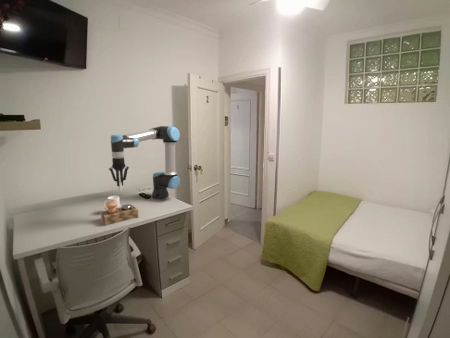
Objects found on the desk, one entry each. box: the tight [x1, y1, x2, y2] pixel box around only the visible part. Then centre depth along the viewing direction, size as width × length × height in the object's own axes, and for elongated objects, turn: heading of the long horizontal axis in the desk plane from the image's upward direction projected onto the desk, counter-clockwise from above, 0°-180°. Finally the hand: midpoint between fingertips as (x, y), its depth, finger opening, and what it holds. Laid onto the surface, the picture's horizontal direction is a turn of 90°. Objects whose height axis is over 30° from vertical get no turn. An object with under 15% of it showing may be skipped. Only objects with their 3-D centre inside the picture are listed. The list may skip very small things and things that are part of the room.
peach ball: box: [105, 202, 117, 214], centre depth 162 cm, size 6×6×8 cm
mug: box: [102, 195, 121, 210], centre depth 176 cm, size 12×8×12 cm
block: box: [100, 204, 139, 226], centre depth 166 cm, size 22×12×6 cm, turn 129°
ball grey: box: [121, 203, 132, 211], centre depth 169 cm, size 6×6×8 cm
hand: (120, 190), depth 164 cm, fingers closed
